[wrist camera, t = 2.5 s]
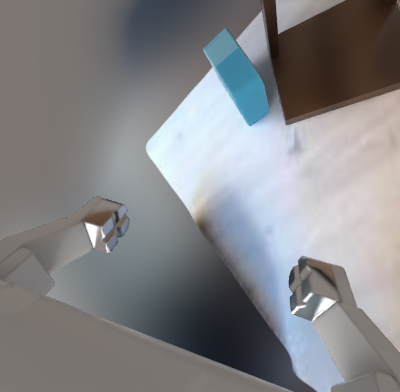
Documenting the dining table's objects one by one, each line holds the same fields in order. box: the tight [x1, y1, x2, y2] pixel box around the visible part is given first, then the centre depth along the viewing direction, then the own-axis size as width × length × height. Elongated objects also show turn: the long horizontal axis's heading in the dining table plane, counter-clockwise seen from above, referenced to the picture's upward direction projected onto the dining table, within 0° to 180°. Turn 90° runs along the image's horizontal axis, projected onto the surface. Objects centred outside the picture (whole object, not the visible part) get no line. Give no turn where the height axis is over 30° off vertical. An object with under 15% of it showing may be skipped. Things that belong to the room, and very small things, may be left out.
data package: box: [203, 28, 270, 126], centre depth 36 cm, size 12×4×12 cm, turn 30°
